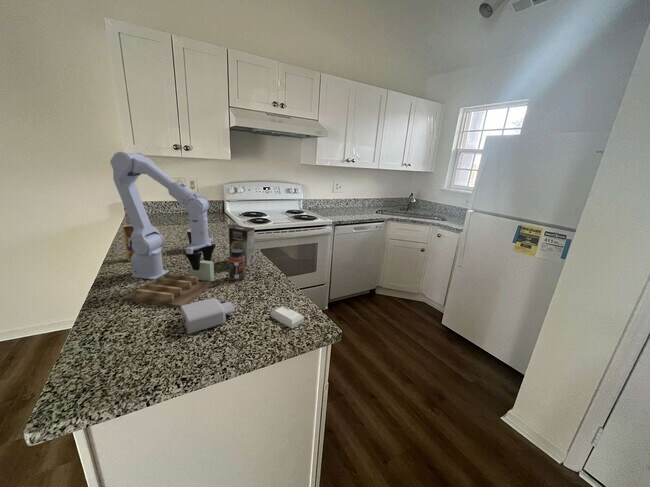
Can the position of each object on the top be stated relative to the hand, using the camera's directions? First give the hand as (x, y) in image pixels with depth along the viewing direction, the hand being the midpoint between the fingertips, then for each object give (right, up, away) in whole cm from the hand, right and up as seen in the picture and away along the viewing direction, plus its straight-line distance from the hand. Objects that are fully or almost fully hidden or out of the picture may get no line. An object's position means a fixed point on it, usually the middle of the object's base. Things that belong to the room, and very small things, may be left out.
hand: (202, 266), depth 101 cm
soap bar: (+35, -15, -20) cm, 43 cm away
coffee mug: (-16, +6, +33) cm, 37 cm away
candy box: (-34, +2, +16) cm, 37 cm away
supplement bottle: (+12, -5, +4) cm, 14 cm away
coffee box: (+9, 0, +20) cm, 22 cm away
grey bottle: (+14, -14, -23) cm, 30 cm away
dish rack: (-6, -8, -11) cm, 15 cm away
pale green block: (0, -5, +1) cm, 5 cm away
